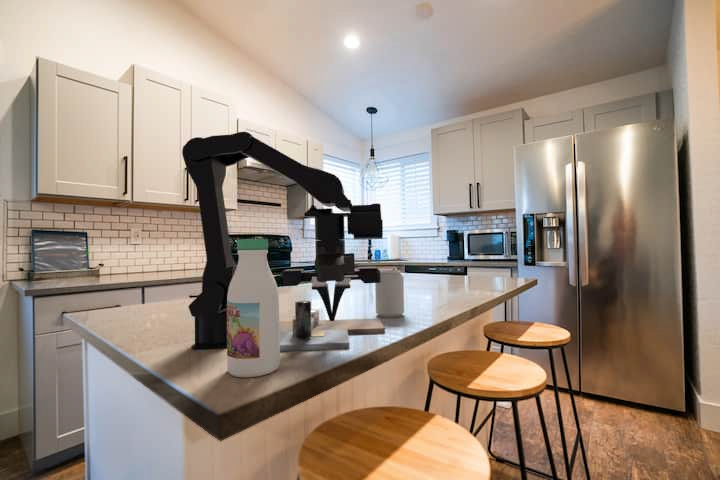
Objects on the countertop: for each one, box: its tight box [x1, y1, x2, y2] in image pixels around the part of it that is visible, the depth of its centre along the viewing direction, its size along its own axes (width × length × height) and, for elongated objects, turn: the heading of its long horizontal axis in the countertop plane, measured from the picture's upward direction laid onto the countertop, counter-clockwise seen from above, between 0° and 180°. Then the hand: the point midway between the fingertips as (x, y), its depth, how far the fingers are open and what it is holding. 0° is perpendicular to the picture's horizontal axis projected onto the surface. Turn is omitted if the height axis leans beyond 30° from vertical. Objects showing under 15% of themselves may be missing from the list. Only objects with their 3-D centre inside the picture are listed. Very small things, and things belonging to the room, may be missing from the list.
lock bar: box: [294, 300, 320, 338], centre depth 73 cm, size 15×4×6 cm, turn 1°
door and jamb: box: [279, 315, 386, 352], centre depth 73 cm, size 24×20×4 cm
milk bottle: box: [226, 238, 281, 378], centre depth 53 cm, size 8×8×20 cm
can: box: [374, 269, 405, 319], centre depth 92 cm, size 8×8×12 cm
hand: (332, 320), depth 67 cm, fingers closed
